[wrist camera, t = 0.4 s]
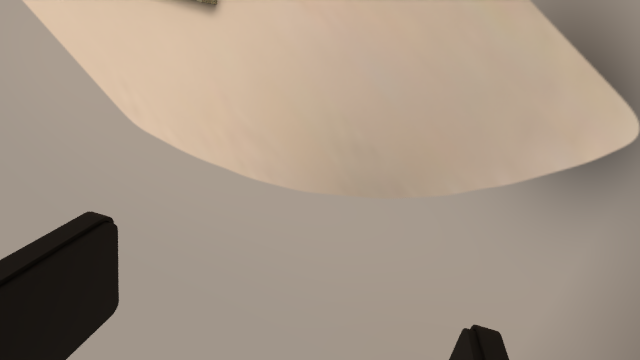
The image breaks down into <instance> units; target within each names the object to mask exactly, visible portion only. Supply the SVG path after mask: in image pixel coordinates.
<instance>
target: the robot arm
mask: <svg viewBox="0 0 640 360" xmlns="http://www.w3.org/2000/svg"><path fill="white" fill-rule="evenodd" d="M118 302H119V293H118V230H117V226H116V225H115V224H114V221H113V219H112V218H111V217H108V216H105V215H101V214H98V213H94V212H86V213H84V214H82V215H80V216H79V217H77V218H75V219H73V220H71V221H70V222H68V223H66V224H64V225H63V226H61V227H59V228H57V229H55V230H54V231H52V232H50V233H48V234H46V235H45V236H43V237H41V238H39V239H38V240H36V241H34V242H32V243H30V244H28V245H27V246H25V247H23V248H21V249H19V250H18V251H16V252H14V253H12V254H10V255H9V256H7V257H5V258H3V259H1V260H0V360H66V359H67V358H68V357H69V356H70V355H71V354H72V353H73V352H74V351H75V350H76V349H77V348H78V347H79V346H80V345H81V344H83V342H85V341H86V340H87V339H88V338H89V337H90V336H91V335H92V334H93V333H94V332H95V331H96V330H97V329H98V328H99V327H100V326H101V325H102V324H103V323H104V322H106V320H108V319H109V318H110V317H111V316H112V315H113V313H114V312H115V310H116V308H117V306H118ZM449 360H509V358H508V355H507V352H506V349H505V346H504V343H503V340H502V337H501V334H500V333H499V332H498V331H495V330H491V329H488V328H485V327H481V326H478V325H473V326H472V327H471V329H466V328H464V329H463V330H462V332H461V334H460V336H459V339H458V341H457V343H456V345H455V348H454V350H453V352H452V354H451V357H450V359H449Z"/></svg>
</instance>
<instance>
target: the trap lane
mask: <svg viewBox="0 0 640 360" xmlns="http://www.w3.org/2000/svg"><path fill="white" fill-rule="evenodd" d="M197 1H200V2H205V3H211V4H217V0H197Z"/></svg>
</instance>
